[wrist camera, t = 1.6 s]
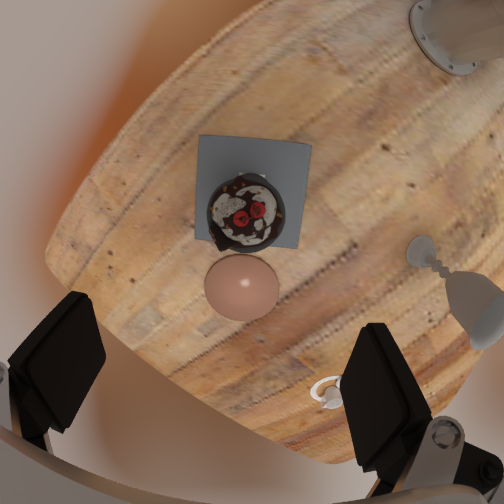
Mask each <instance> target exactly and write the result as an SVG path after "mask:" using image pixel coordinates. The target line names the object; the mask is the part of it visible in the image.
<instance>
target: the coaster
mask: <svg viewBox="0 0 504 504" xmlns="http://www.w3.org/2000/svg"><path fill="white" fill-rule="evenodd" d="M205 295H206V298H207V300H208V302H209V304H210V305H211V307H212V308H213V309H214V310H215V311H216V312H218V313H219V314H220V315H222V316H224V317H226V318H229V319H232V320H236V321H250V320H255V319H258V318H260V317H262V316H264V315H266V314H267V313H268V312H269V311H271V310H272V308H273V307H274V306H275V304H276V302H277V300H278V297H279V282H278V278H277V276H276V274H275V272H274V270H273V269H272V268H271V267H270V266H269V265H268V264H267V263H266V262H265V261H263V260H261V259H260V258H257V257H255V256H251V255H246V254H236V255H230V256H227V257H225V258H223V259H221V260H219V261H218V262H216V263H215V264H214V265H213V266H212V268H211V269H210V271H209V272H208V275H207V277H206V280H205Z"/></svg>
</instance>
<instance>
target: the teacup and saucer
mask: <svg viewBox="0 0 504 504" xmlns="http://www.w3.org/2000/svg"><path fill="white" fill-rule="evenodd" d="M341 377H342V376H330V377H326V378H324V379H321V380H320V381H318V382H317V383H315V384H314V385H313V387H312V388H311V391H310V394H311V396H312V398H314V399H315V400H317V401H321V407H322V408H326V407H327V408H329V409H334V408H338V407H339V406H341V405H342V404H343V400H342V396H341V394H340V392H339V390H338V388H340V380H341ZM332 379H337V381H336V386H337V387H338V388H337V387H336V386H330V387H328V388H327V389H326V391H325V394H324V396H323V398H321V397H319V396H317V394H316V389H317V387H318V386H319V385H320V384H321V383H323V382H325V381H328V380H332ZM323 402H325V403H326V405H325V406H322V405H323Z"/></svg>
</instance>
